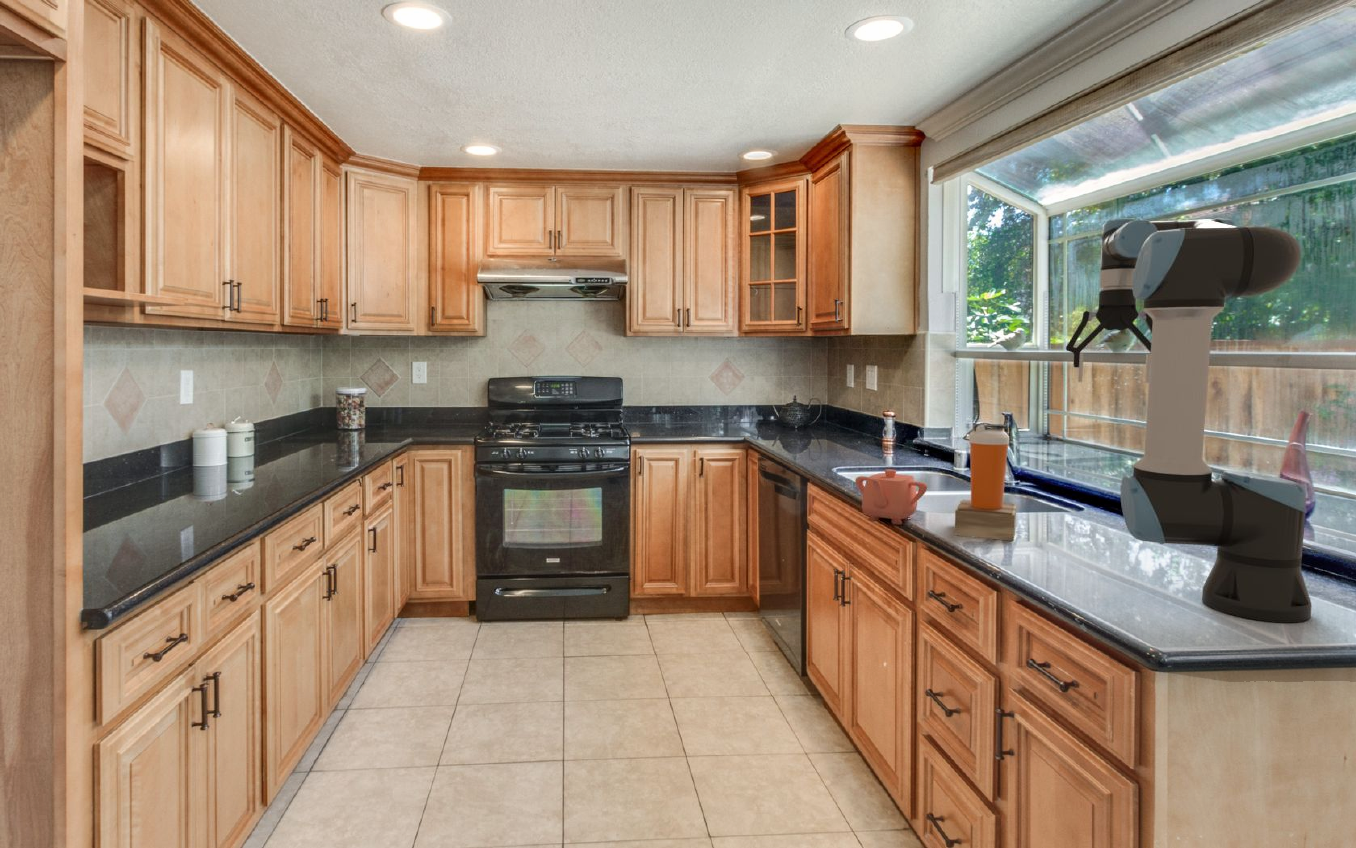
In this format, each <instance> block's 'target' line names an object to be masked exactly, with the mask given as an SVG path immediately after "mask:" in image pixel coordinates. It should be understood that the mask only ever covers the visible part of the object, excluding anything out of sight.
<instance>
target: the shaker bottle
mask: <svg viewBox="0 0 1356 848" xmlns="http://www.w3.org/2000/svg"><path fill="white" fill-rule="evenodd" d="M995 427H996V428H995ZM1005 427H1007V424H1001V423H1000V424H999V423H994V424H984V425H982V424H981V423H975V424H974V425H973V426H972V432H971V433H970V434H969V441H968V443H969V445H970V448H969V449H970V450H969V451H970V457H969V459H970V462H969V463H970V500H971V506H972V507H975V508H980V509H992V510H993V509H1001V508H1002V505H1003V503H1004V494H1005V493H1004V492H1005V483H1006V482H1005V480H1006V469H1007V460H1008V450H1009V449H1008V447H1009V445H1010V436H1009V434H1008V433H1007V432H1006V431H1005Z"/></svg>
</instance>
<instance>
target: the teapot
mask: <svg viewBox="0 0 1356 848" xmlns="http://www.w3.org/2000/svg"><path fill="white" fill-rule="evenodd" d="M864 481H865V484H864ZM855 485H856V487H857V489H858V490H859V492H860V493H861V494H862V501H861V510H862V513H863V515H864V516H869V518H867V521H869V522H879V519H880V518H884V519H891V524H893V525H902V524H903V521H902V520H904V519H908V518H911V516H913V514H915V512H916V511H917V508H918V500H920V498H922V497H923V496H924V495H925V493H926V492H927V490H928V485H927V484H926V483H925V482H921V481H915V477H914V476H913V475H909V474H908V475H907V474H900V473H899V474H897V470H896V469H890V468H889V469H888V468H887V469H885V470H884V472H881V473H875V474H873V475H870V476H862V475H861V476H857V477H855ZM916 487H918V491H917V488H916ZM904 521H905V520H904Z"/></svg>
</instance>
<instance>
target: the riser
mask: <svg viewBox="0 0 1356 848" xmlns="http://www.w3.org/2000/svg"><path fill="white" fill-rule="evenodd" d="M954 513H955V514H954V536H957V535H958V537H967V536H974V537H973V538H978V537H980V539H988V540H989V539H990V540H1001V541H1011V542H1012V541H1013V542H1014V541H1015V534H1016V524H1017V523H1016V521H1017V505H1016V504H1015V503H1010V502H1009V503H1007V502H1003V505H1002V508H1001V509H993V510H992V509H980V508H975V507H972V506H971V499H970V500H969V499H968V500H967V499H962V500H960V501H959V503H958V505H957V507H956V509H955V512H954Z"/></svg>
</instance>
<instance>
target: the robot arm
mask: <svg viewBox="0 0 1356 848" xmlns="http://www.w3.org/2000/svg"><path fill="white" fill-rule="evenodd" d="M1100 237H1101V238H1100V239H1101V252H1100V253H1101V255H1100V270H1099V271H1100V273H1099V288H1100V289H1102V290H1100V291H1099V292H1098V295H1099V296H1098V309H1097V311H1095V312H1094V311H1088V310H1086V311H1085V310H1084V311H1083V313H1082V319H1081V322H1080V323H1079V325H1078V327H1077V328H1076V330H1075V332H1074V333H1073V335H1072V336H1071V337H1070V339H1069V341H1068V343H1067V345H1066V347H1065V350H1066V351H1067V352H1071V353H1072V354H1073V368H1078V373H1077V374H1078V375H1077V382H1078V383H1082V382H1083V371H1084V353H1081V352H1082V351H1083V350H1084V349H1085V348H1086V347H1087V346H1088V345H1089V344H1090V343H1091V342H1092V341H1093V340H1094V339H1095V338H1096V337H1097V336H1098V335H1099V334H1100V333H1101V332H1102V331H1103V330H1104V329H1105V330H1106V331H1115V330H1118V331H1125V330H1127V329H1128V330H1129V331H1130V332H1131V333H1132V335H1134V337H1136V339H1137V340H1139V342H1141V343H1140V344H1142V345H1143V346H1144V347H1145V348H1146V350H1148V351H1149V353H1146V354H1145V372H1144V373H1145V375H1144V383H1145V384H1148V391H1147V392H1148V394H1147V408H1146V423H1145V424H1146V425H1145V440H1144V454H1143V456H1142V457H1141V458H1140V459H1138V461H1136V462H1135V463H1134V464H1133V473H1132V474H1128V475H1127V474H1126V475H1124V476H1123V477H1122V479H1121V485H1120V502H1121V503H1120V504H1121V509H1122V514H1123V519H1124V523H1125V525H1126V528H1127V530H1128V532H1129V533H1130V534H1131V536H1132V537H1133V538H1135V540H1138V541H1142V542H1150V543H1158V544H1159V545H1164V544H1175V545H1189V546H1190V545H1192V546H1210V547H1217V553H1216V560H1215V562H1214V564H1213V565H1212V568H1211V570H1210V572H1209V574H1208V576H1207V577H1206V580H1205V583H1204V584H1203V587H1202V595H1201V601H1202V602H1203V603H1204V604H1205V605H1206V606H1208V607H1210V608H1212V609H1214V610H1217V611H1220V612H1222V613H1224V614H1229V615H1232V616H1236V617H1241V618H1246V619H1250V620H1256V621H1257V620H1258V621H1263V622H1275V623H1300V622H1305V620H1306V621H1308V620H1310V618H1311V616H1312V602H1311V598H1310V596H1309V592H1308V589H1307V586H1306V583H1305V579H1304V576H1303V572H1302V559H1303V548H1304V546H1303V545H1304V537H1305V536H1304V535H1305V525H1306V514H1307V512H1308V510H1307V509H1306V508H1307V507H1306V506H1307V503H1306V501H1307V500H1306V499H1307V495H1306V494H1307V493H1306V489H1305V488H1304V487H1303V485H1301V484H1300V483H1298V482H1295V481H1292V480H1290V479H1287V478H1282V477H1278V476H1272V475H1267V474H1261V473H1255V472H1250V471H1249V472H1248V471H1242V470H1229V469H1227V470H1223V472H1222V473H1221V475H1220V478H1212V477H1213V469H1212V468H1211V467H1210V466H1209V465H1208V464H1207V463H1206V462H1205V461H1204V459H1203V455H1204V454H1203V452H1204V440H1205V439H1204V438H1205V426H1206V425H1205V424H1206V413H1207V411H1206V410H1207V397H1208V384H1209V383H1208V382H1209V370H1210V369H1209V368H1210V355H1211V341H1212V328H1213V325H1212V324H1213V320H1214V318H1215V317H1217V315H1218V314H1219V313H1222V311H1223V310H1224V309H1225V302H1226V301H1225V300H1226V299H1237V298H1249V297H1255V296H1260V295H1263V294H1266V293H1268V292H1271V291H1273V290H1275V289H1278V288H1279V287H1281V286H1282V285H1283V284H1285V283H1287V282H1288V281H1289V280H1290V279H1291V278H1292V277H1293V276H1294V274H1295V273H1296V272H1297V270H1298V268H1299V266H1300V263H1301V259H1302V250H1301V245H1300V244H1299V242H1298V240H1297V239H1296V238H1295V237H1294V235H1292V234H1291V233H1289V232H1287V231H1285V230H1282V229H1279V228H1276V227H1275V228H1274V227H1268V226H1254V225H1249V226H1248V225H1247V226H1237V225H1236V224H1235V222H1234V220H1232V219H1230V218H1218V217H1217V218H1215V217H1213V218H1208V219H1206V218H1205V219H1188V220H1187V219H1186V220H1185V219H1184V220H1159V221H1155V220H1154V221H1149V220H1147V219H1137V218H1132V217H1131V218H1128V217H1127V218H1117V219H1111V220H1110V219H1109V220H1107V221H1105V223H1104V224H1103V225H1102V235H1100ZM1137 300H1138V301H1141V302H1142V301H1143V307H1142V309H1143V311H1142V310H1141V311H1138V310H1137ZM1138 317H1140V318H1141V320H1142V321H1145V324H1146V326H1147V327H1148V329H1149V331H1150V332H1149V333H1151V341H1150V340H1149V339H1148V338H1147V337H1146V335H1144V333H1142V331H1141V330H1140V329H1139V328H1138V327H1137V326H1136V324H1135V323H1134V322H1135V321H1136V319H1137V318H1138ZM1093 318H1096V320H1097V321H1098V323H1099V324H1098V325H1097V326H1096V327H1095V329H1093V331H1092V332H1090V334H1089V335H1088V336H1087V337H1085V339H1083V340H1082V341H1081V343H1079V344H1078V345H1077V347H1074V346H1075V345H1076V343H1077V341H1078V339H1079V338H1080V336H1081V334H1082V333H1083V331H1084V329H1085V328H1086V326H1087V324H1088V322H1090V321H1092V320H1093Z"/></svg>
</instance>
